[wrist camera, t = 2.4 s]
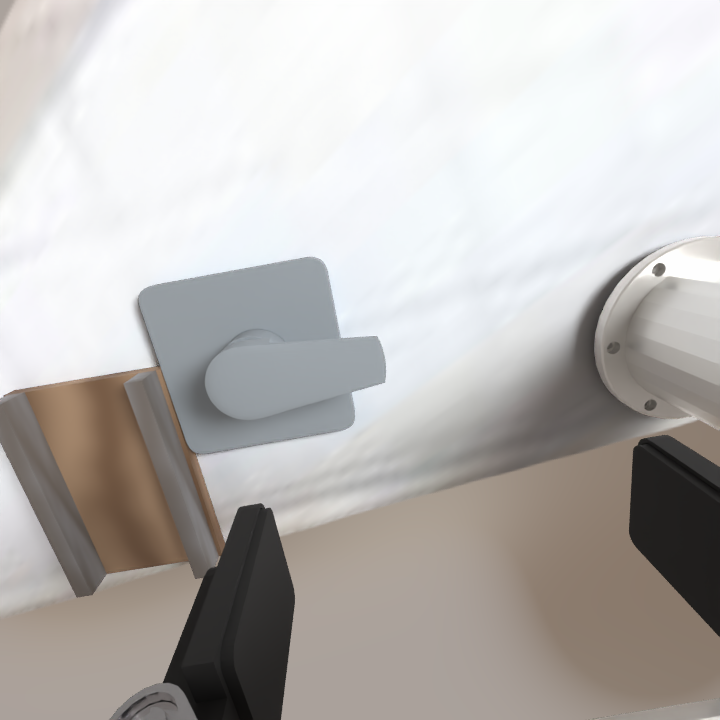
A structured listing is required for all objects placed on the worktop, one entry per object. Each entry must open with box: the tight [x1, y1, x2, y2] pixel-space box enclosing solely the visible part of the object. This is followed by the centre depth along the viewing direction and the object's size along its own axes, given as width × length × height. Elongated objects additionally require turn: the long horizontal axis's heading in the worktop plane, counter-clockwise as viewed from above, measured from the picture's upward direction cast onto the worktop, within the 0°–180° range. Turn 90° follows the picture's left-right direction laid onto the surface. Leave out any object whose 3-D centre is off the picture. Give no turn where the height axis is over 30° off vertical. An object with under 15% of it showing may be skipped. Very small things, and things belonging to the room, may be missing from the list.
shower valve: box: [139, 257, 386, 454], centre depth 26 cm, size 12×6×15 cm
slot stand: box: [0, 366, 225, 597], centre depth 30 cm, size 11×16×3 cm
